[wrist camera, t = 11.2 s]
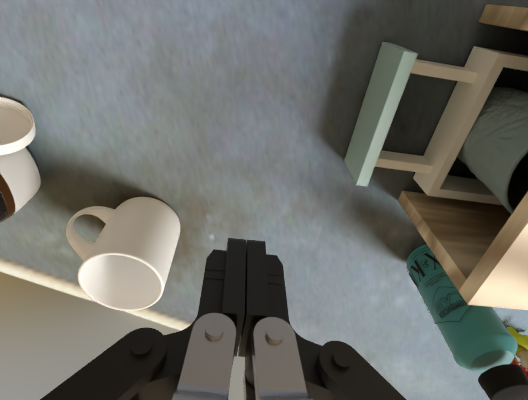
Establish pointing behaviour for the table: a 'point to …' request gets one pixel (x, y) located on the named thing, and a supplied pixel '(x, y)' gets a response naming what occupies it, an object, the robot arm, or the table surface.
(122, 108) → the table surface
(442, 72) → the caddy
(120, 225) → the mug
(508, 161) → the grey green hollow cylinder
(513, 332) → the bird rattle
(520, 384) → the beverage bottle
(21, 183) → the spread jar
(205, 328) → the robot arm
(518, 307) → the open wooden box
